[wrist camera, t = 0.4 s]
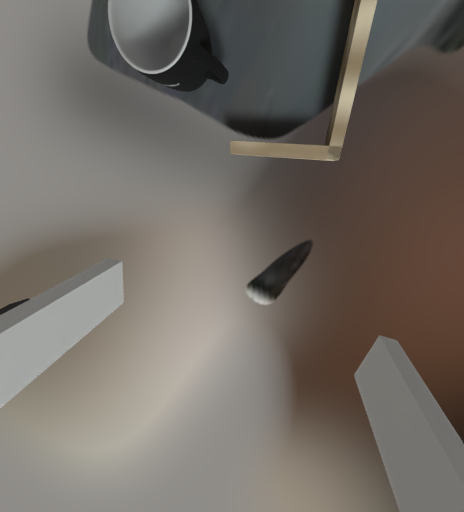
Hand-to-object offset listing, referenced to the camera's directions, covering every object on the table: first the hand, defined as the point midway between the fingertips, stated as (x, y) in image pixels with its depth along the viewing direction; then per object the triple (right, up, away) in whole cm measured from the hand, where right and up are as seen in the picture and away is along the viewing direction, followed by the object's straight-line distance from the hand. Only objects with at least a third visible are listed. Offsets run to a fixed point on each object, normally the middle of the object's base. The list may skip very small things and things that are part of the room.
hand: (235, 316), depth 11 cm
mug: (-5, +29, +19) cm, 35 cm away
